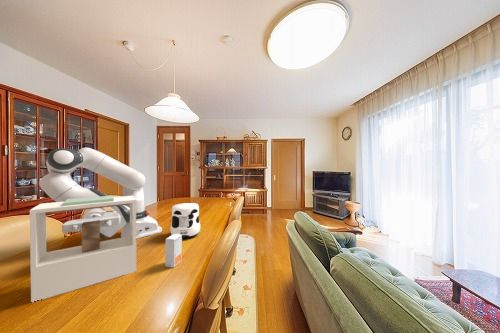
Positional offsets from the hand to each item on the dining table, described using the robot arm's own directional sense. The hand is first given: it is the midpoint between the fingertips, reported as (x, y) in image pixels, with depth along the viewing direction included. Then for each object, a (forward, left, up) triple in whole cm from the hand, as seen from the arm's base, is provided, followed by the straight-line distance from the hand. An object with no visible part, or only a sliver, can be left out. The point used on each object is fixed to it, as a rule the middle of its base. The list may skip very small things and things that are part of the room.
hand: (92, 227), depth 79 cm
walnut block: (0, +10, -5) cm, 11 cm away
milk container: (-43, -11, -17) cm, 48 cm away
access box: (0, +10, -16) cm, 19 cm away
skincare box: (-28, +19, -17) cm, 38 cm away
